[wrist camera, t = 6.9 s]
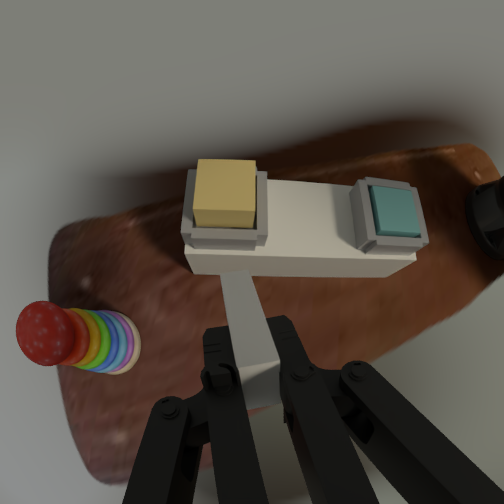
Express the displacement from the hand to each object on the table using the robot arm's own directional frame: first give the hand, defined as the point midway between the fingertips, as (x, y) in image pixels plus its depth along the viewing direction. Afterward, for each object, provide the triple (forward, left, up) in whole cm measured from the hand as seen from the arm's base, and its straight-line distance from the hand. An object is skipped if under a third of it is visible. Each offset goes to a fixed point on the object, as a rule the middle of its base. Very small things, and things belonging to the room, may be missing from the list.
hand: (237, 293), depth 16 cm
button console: (-8, -11, -20) cm, 24 cm away
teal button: (-17, -11, -12) cm, 23 cm away
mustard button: (+1, -11, -10) cm, 15 cm away
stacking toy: (+15, +3, -21) cm, 26 cm away
